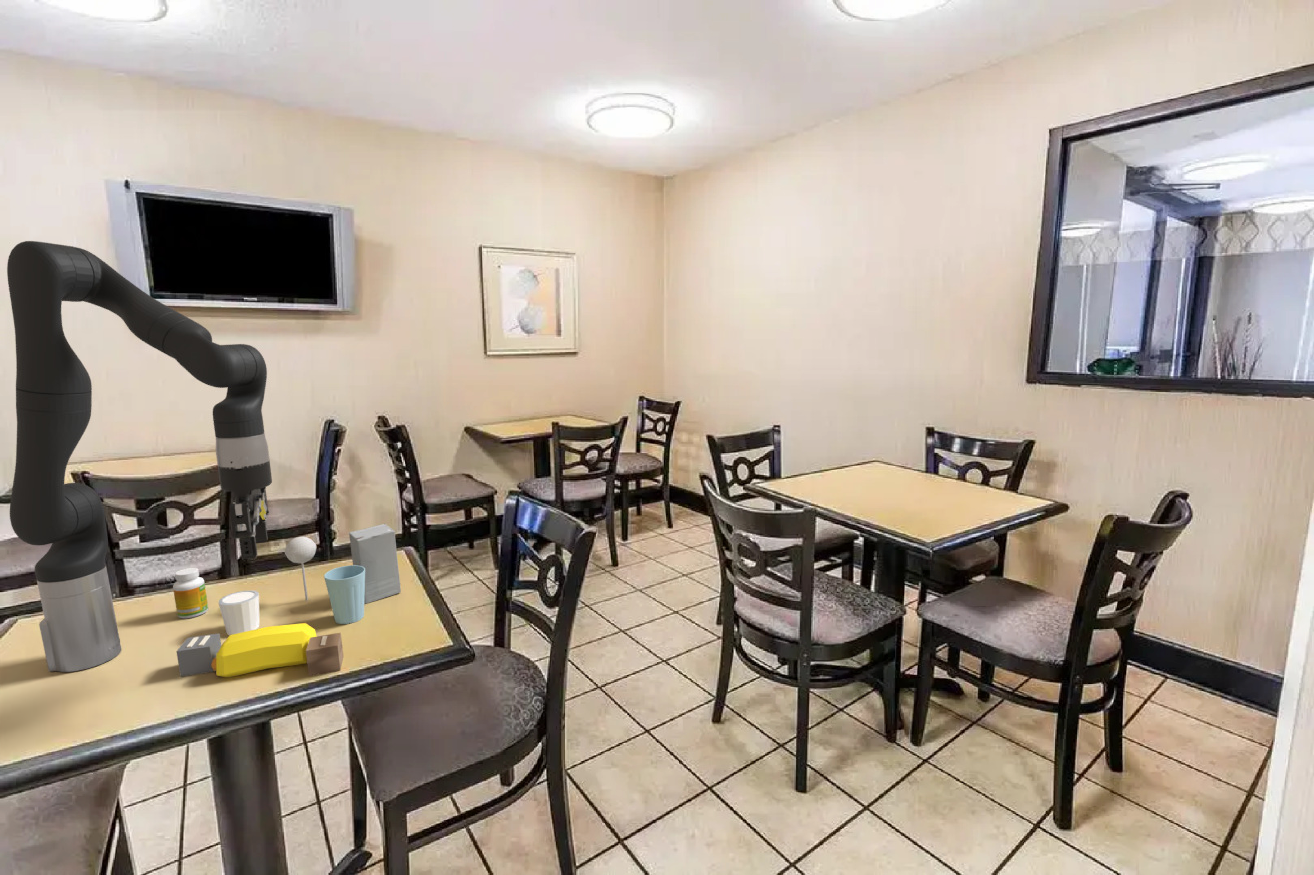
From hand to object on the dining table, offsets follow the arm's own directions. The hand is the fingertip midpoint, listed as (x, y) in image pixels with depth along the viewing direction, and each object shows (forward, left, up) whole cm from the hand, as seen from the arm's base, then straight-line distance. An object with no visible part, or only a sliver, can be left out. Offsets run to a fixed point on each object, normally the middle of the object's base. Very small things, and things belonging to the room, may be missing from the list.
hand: (255, 549), depth 109 cm
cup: (+12, +14, -22) cm, 29 cm away
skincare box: (+17, +24, -22) cm, 37 cm away
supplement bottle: (-20, +29, -22) cm, 41 cm away
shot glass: (-8, +17, -22) cm, 29 cm away
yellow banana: (0, 0, -22) cm, 22 cm away
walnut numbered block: (+10, -5, -22) cm, 25 cm away
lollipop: (+2, +27, -22) cm, 35 cm away
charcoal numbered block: (-11, +3, -22) cm, 25 cm away
